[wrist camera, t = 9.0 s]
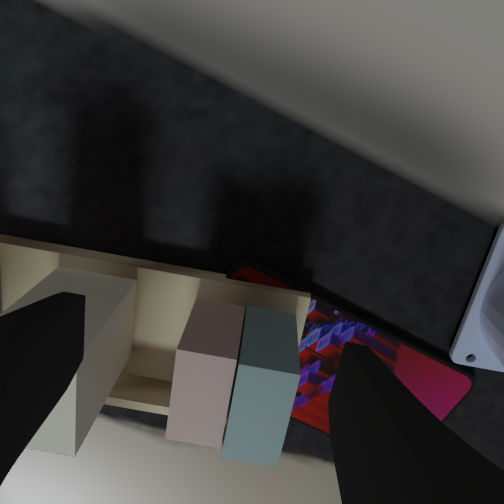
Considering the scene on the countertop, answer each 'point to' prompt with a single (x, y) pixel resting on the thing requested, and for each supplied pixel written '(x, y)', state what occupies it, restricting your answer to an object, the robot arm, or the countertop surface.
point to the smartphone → (360, 332)
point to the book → (87, 352)
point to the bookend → (0, 295)
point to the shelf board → (143, 307)
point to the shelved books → (235, 380)
